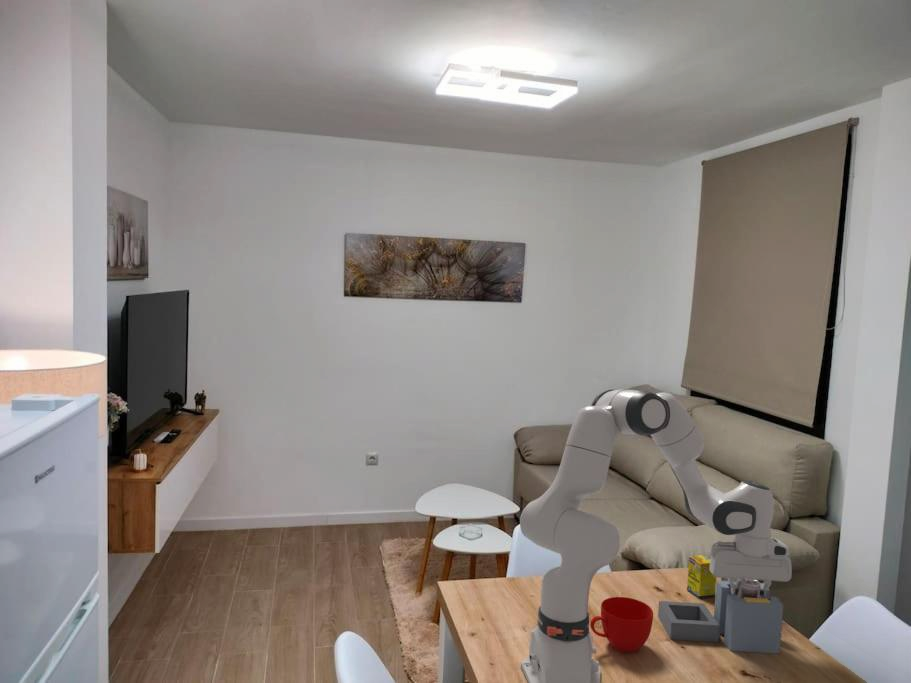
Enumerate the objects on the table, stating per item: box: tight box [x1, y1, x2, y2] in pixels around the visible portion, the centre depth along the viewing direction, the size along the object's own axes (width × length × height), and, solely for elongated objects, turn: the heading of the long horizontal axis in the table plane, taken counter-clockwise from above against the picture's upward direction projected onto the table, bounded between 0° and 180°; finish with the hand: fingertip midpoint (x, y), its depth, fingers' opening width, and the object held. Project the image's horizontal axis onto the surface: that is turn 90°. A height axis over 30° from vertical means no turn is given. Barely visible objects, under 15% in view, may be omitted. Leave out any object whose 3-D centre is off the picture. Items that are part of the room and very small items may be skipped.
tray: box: [657, 600, 720, 643], centre depth 181 cm, size 12×12×4 cm
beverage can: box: [735, 579, 761, 599], centre depth 176 cm, size 6×6×15 cm
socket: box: [713, 580, 784, 655], centre depth 176 cm, size 12×12×13 cm
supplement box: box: [686, 554, 717, 600], centre depth 203 cm, size 6×6×11 cm
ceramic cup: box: [589, 596, 654, 654], centre depth 170 cm, size 13×17×10 cm
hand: (748, 594), depth 176 cm, fingers closed on beverage can, 6 cm apart
